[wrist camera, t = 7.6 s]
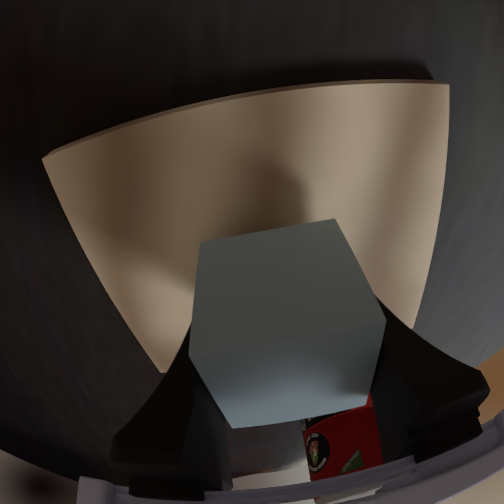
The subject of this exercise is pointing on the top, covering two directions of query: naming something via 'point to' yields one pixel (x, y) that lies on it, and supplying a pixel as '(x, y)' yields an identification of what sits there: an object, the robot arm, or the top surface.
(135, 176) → the board
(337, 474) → the canned food
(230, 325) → the cube
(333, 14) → the top surface
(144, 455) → the robot arm
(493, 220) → the top surface
